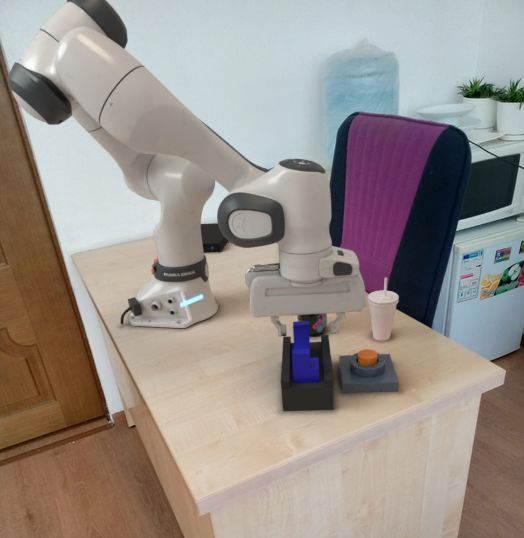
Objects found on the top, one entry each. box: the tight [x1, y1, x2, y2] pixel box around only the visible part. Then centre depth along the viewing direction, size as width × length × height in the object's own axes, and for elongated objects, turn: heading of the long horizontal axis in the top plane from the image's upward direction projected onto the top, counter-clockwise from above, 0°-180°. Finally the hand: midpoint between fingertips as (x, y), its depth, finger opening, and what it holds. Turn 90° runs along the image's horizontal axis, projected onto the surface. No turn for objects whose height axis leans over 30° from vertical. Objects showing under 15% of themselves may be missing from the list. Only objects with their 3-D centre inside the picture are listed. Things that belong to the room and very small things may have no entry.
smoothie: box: [367, 276, 400, 341], centre depth 106 cm, size 6×6×14 cm
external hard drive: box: [201, 222, 229, 253], centre depth 177 cm, size 14×23×3 cm, turn 171°
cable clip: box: [292, 320, 319, 383], centre depth 91 cm, size 12×4×6 cm, turn 176°
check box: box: [338, 352, 399, 394], centre depth 96 cm, size 10×10×4 cm
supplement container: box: [296, 313, 328, 338], centre depth 112 cm, size 7×7×10 cm
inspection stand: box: [280, 334, 335, 412], centre depth 94 cm, size 9×16×6 cm, turn 177°
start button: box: [357, 348, 378, 366], centre depth 94 cm, size 4×4×2 cm
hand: (308, 333), depth 91 cm, fingers open, 8 cm apart
